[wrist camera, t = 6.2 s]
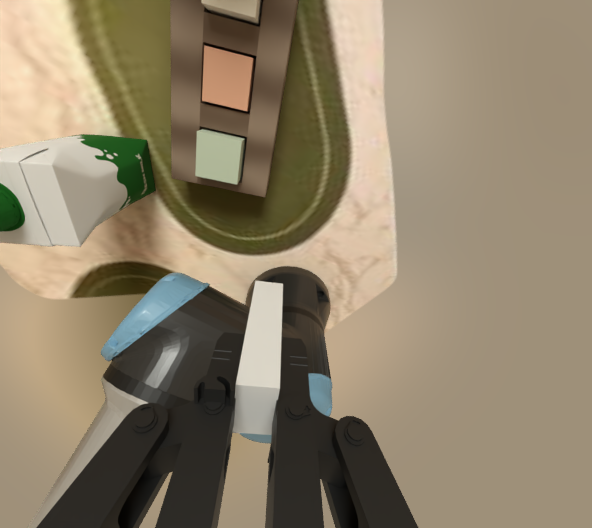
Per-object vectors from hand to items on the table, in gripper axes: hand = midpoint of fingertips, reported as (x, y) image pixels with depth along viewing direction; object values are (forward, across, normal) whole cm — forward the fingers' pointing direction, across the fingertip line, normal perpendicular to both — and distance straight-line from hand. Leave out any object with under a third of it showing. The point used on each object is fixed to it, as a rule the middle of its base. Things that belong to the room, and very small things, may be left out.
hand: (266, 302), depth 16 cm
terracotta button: (+27, +7, -11) cm, 30 cm away
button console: (+29, +7, -11) cm, 32 cm away
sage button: (+26, +7, -3) cm, 27 cm away
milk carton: (+30, +22, +1) cm, 37 cm away
